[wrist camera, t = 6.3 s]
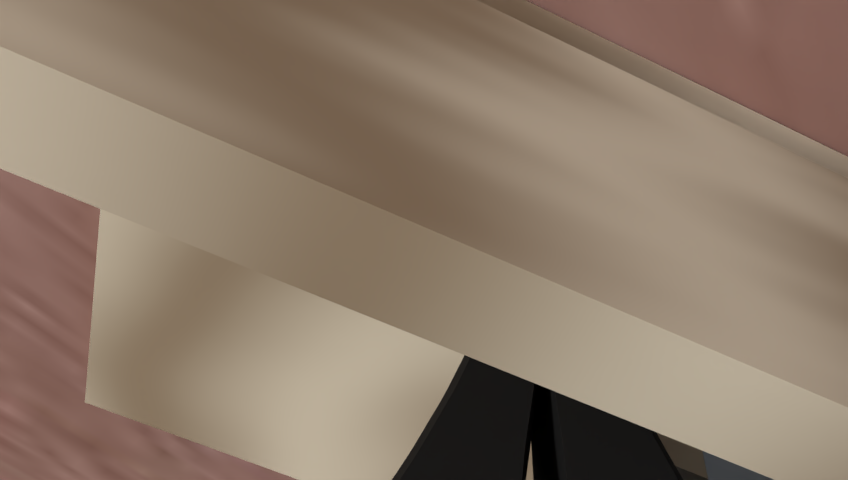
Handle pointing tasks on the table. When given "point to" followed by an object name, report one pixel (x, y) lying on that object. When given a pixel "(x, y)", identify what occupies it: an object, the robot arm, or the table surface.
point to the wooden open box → (429, 228)
